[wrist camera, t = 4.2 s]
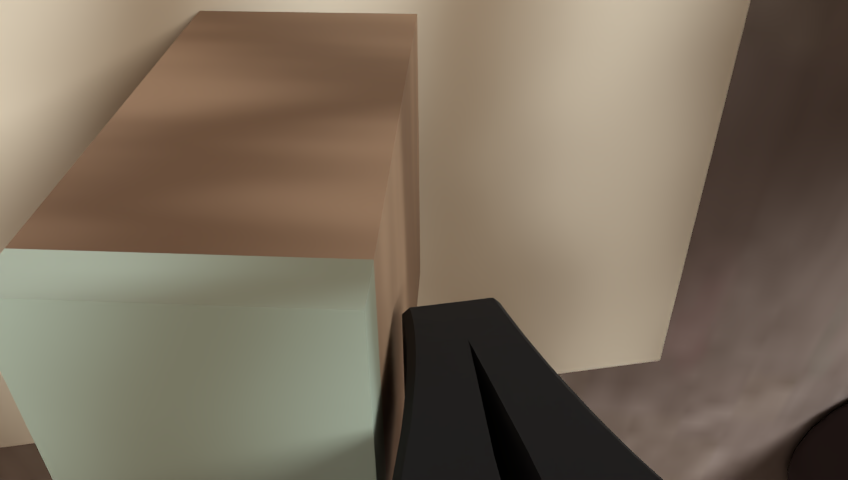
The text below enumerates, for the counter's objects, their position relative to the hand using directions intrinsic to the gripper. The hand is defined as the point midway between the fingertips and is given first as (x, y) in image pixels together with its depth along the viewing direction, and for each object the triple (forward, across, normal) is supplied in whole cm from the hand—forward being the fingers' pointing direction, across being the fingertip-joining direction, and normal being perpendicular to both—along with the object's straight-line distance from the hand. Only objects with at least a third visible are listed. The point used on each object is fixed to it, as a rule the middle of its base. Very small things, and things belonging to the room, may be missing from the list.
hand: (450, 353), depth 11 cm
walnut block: (+6, +2, 0) cm, 6 cm away
